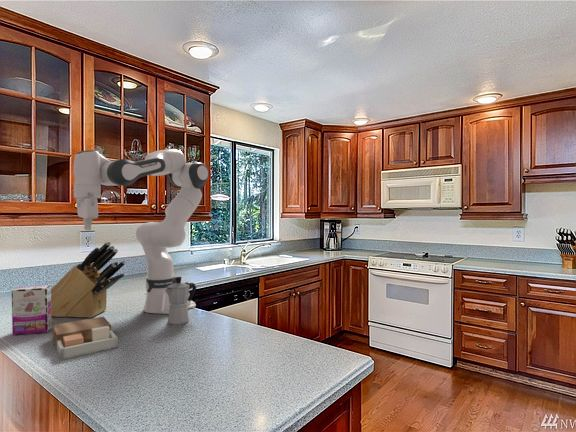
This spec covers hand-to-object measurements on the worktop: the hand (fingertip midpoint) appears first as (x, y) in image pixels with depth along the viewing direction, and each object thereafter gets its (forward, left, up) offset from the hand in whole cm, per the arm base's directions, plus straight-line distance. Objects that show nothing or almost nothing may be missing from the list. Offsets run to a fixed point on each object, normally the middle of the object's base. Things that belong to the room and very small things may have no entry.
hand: (87, 230), depth 136 cm
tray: (+4, +22, -37) cm, 44 cm away
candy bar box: (+17, -7, -37) cm, 42 cm away
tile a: (0, +20, -34) cm, 39 cm away
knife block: (-1, -21, -37) cm, 43 cm away
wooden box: (+4, +12, -37) cm, 39 cm away
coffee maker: (-31, +13, -37) cm, 50 cm away
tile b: (+8, +22, -34) cm, 42 cm away
